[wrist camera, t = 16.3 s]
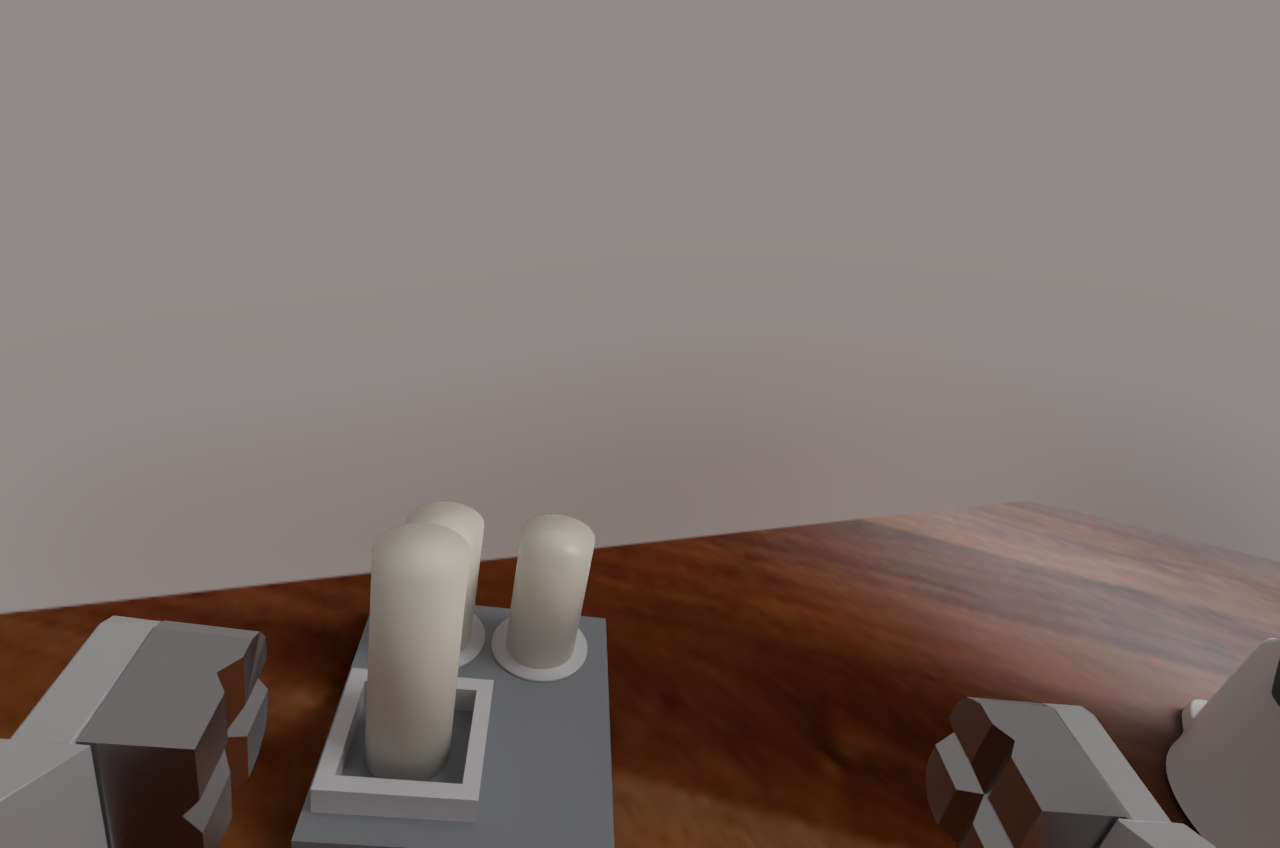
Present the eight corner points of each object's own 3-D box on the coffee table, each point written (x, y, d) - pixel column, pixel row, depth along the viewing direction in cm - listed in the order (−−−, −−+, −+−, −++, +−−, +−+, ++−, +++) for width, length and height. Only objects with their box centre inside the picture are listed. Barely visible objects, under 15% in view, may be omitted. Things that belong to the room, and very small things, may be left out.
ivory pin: (454, 721, 41) (474, 527, 36) (444, 788, 38) (464, 583, 33) (373, 716, 41) (382, 518, 35) (355, 783, 37) (362, 574, 32)
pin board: (601, 636, 51) (628, 513, 47) (609, 880, 37) (648, 735, 33) (375, 614, 49) (381, 483, 45) (291, 863, 35) (288, 705, 31)
